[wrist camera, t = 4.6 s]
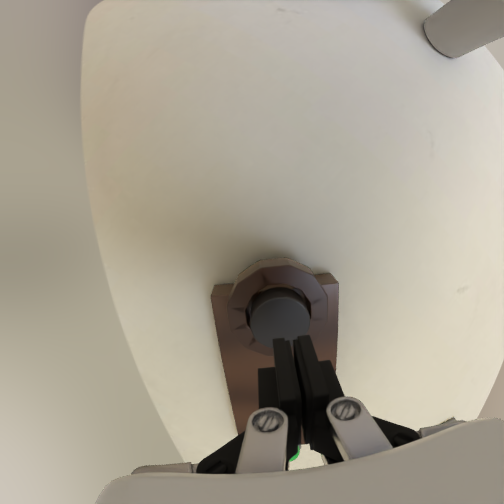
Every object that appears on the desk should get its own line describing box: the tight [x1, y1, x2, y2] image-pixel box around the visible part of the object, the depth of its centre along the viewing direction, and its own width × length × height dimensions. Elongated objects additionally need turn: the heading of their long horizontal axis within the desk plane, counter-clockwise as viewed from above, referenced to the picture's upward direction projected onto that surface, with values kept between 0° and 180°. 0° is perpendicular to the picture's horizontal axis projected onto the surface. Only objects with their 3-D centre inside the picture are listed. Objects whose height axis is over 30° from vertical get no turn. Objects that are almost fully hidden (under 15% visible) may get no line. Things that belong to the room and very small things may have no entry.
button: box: [250, 287, 310, 348], centre depth 17 cm, size 4×4×2 cm
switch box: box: [211, 257, 339, 445], centre depth 21 cm, size 20×9×4 cm, turn 6°
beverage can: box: [424, 0, 504, 58], centre depth 10 cm, size 5×5×12 cm
